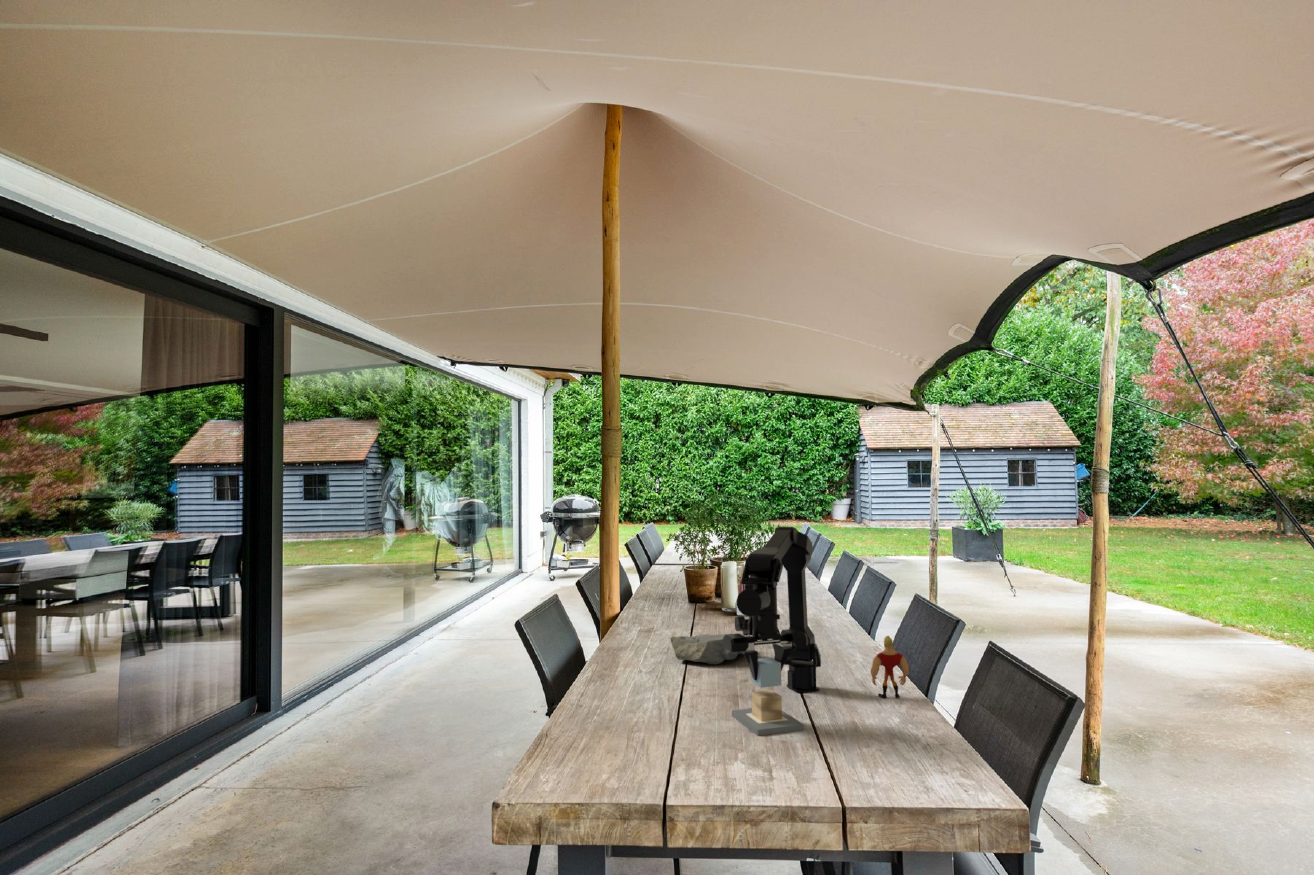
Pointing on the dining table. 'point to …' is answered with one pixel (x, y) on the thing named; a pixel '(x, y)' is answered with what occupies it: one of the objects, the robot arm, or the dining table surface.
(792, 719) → the board
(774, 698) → the oak block
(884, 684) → the action figure
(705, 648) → the stone
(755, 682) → the blue block
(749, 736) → the dining table surface
